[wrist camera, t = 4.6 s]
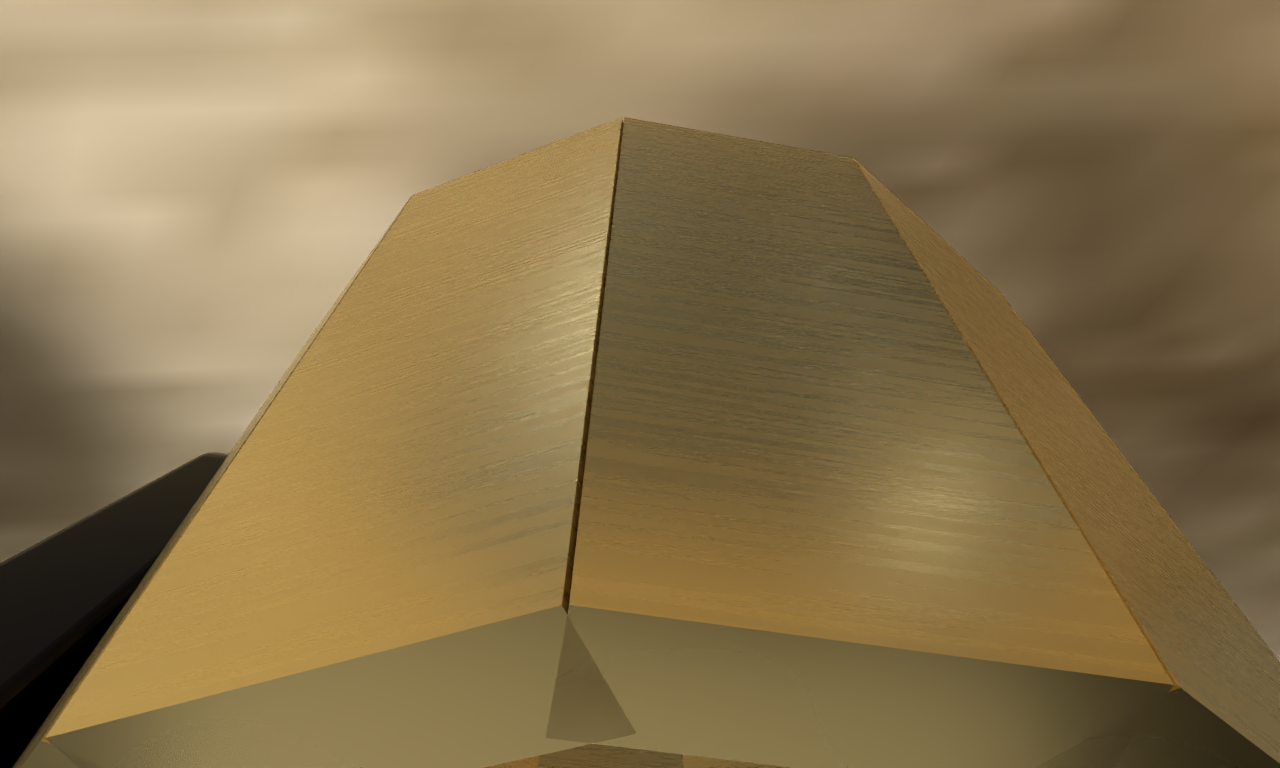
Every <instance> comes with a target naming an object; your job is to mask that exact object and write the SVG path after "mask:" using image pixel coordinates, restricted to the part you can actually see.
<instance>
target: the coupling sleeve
mask: <svg viewBox="0 0 1280 768" xmlns="http://www.w3.org/2000/svg"><path fill="white" fill-rule="evenodd" d="M12 768H1280V662H1279V661H1278V659H1277V658H1276V657H1275V655H1274V654H1273V653H1272V651H1271V650H1270V649H1269V647H1268V646H1267V645H1266V643H1265V642H1264V641H1263V639H1262V638H1261V637H1260V636H1259V634H1258V633H1257V632H1256V630H1255V629H1254V628H1253V626H1252V625H1251V624H1250V622H1249V621H1248V620H1247V618H1246V617H1245V616H1244V614H1243V613H1242V612H1241V610H1240V609H1239V608H1238V606H1237V605H1236V604H1235V602H1234V601H1233V600H1232V598H1231V597H1230V596H1229V594H1228V593H1227V592H1226V590H1225V589H1224V588H1223V586H1222V585H1221V584H1220V582H1219V581H1218V580H1217V579H1216V577H1215V576H1214V575H1213V573H1212V572H1211V571H1210V569H1209V568H1208V567H1207V565H1206V564H1205V563H1204V561H1203V560H1202V559H1201V557H1200V556H1199V555H1198V553H1197V552H1196V551H1195V549H1194V548H1193V547H1192V545H1191V544H1190V543H1189V541H1188V540H1187V539H1186V537H1185V536H1184V535H1183V533H1182V532H1181V531H1180V529H1179V528H1178V527H1177V525H1176V524H1175V523H1174V522H1173V520H1172V519H1171V518H1170V516H1169V515H1168V514H1167V512H1166V511H1165V510H1164V508H1163V507H1162V506H1161V504H1160V503H1159V502H1158V500H1157V499H1156V498H1155V496H1154V495H1153V494H1152V492H1151V491H1150V490H1149V488H1148V487H1147V486H1146V484H1145V483H1144V482H1143V480H1142V479H1141V478H1140V476H1139V475H1138V474H1137V472H1136V471H1135V470H1134V469H1133V467H1132V466H1131V465H1130V463H1129V462H1128V461H1127V459H1126V458H1125V457H1124V455H1123V454H1122V453H1121V451H1120V450H1119V449H1118V447H1117V446H1116V445H1115V443H1114V442H1113V441H1112V439H1111V438H1110V437H1109V435H1108V434H1107V433H1106V431H1105V430H1104V429H1103V427H1102V426H1101V425H1100V423H1099V422H1098V421H1097V419H1096V418H1095V417H1094V415H1093V414H1092V413H1091V412H1090V410H1089V409H1088V408H1087V406H1086V405H1085V404H1084V402H1083V401H1082V400H1081V398H1080V397H1079V396H1078V394H1077V393H1076V392H1075V390H1074V389H1073V388H1072V386H1071V385H1070V384H1069V382H1068V381H1067V380H1066V378H1065V377H1064V376H1063V374H1062V373H1061V372H1060V370H1059V369H1058V368H1057V366H1056V365H1055V364H1054V362H1053V361H1052V360H1051V359H1050V357H1049V356H1048V355H1047V353H1046V352H1045V351H1044V349H1043V348H1042V347H1041V345H1040V344H1039V343H1038V341H1037V340H1036V339H1035V337H1034V336H1033V335H1032V333H1031V332H1030V331H1029V329H1028V328H1027V327H1026V325H1025V324H1024V323H1023V321H1022V320H1021V319H1020V317H1019V316H1018V315H1017V313H1016V312H1015V311H1014V309H1013V308H1012V307H1011V305H1010V304H1009V303H1008V302H1007V300H1006V299H1005V298H1004V296H1003V295H1002V294H1001V292H1000V291H998V290H997V289H996V288H995V287H994V286H993V285H992V284H991V283H990V282H989V281H988V280H986V279H985V278H984V277H983V276H982V275H981V274H980V273H979V272H978V271H977V270H976V269H975V268H973V267H972V266H971V265H970V264H969V263H968V262H967V261H966V260H965V259H964V258H963V257H961V256H960V255H959V254H958V253H957V252H956V251H955V250H954V249H953V248H952V247H951V246H949V245H948V244H947V243H946V242H945V241H944V240H943V239H942V238H941V237H940V236H939V235H937V234H936V233H935V232H934V231H933V230H932V229H931V228H930V227H929V226H928V225H927V224H925V223H924V222H923V221H922V220H921V219H920V218H919V217H918V216H917V215H916V214H915V213H913V212H912V211H911V210H910V209H909V208H908V207H907V206H906V205H905V204H904V203H903V202H901V201H900V200H899V199H898V198H897V197H896V196H895V195H894V194H893V193H892V192H891V191H889V190H888V189H887V188H886V187H885V186H884V185H883V184H882V183H881V182H880V181H879V180H877V179H876V178H875V177H874V176H873V175H872V174H871V173H870V172H869V171H868V170H867V169H866V168H864V167H863V166H862V165H861V164H860V163H859V162H858V161H857V160H856V159H853V158H852V157H847V156H841V155H836V154H830V153H824V152H819V151H813V150H807V149H802V148H796V147H790V146H784V145H779V144H773V143H767V142H762V141H756V140H750V139H745V138H739V137H733V136H728V135H722V134H716V133H711V132H705V131H699V130H694V129H688V128H682V127H677V126H671V125H665V124H659V123H654V122H648V121H642V120H637V119H631V118H624V122H623V119H622V118H619V119H617V120H614V121H611V122H609V123H606V124H603V125H600V126H598V127H595V128H592V129H590V130H587V131H584V132H582V133H579V134H576V135H574V136H571V137H568V138H565V139H563V140H560V141H557V142H555V143H552V144H549V145H547V146H544V147H541V148H539V149H536V150H533V151H530V152H528V153H525V154H522V155H520V156H517V157H514V158H512V159H509V160H506V161H504V162H501V163H498V164H495V165H493V166H490V167H487V168H485V169H482V170H479V171H477V172H474V173H471V174H469V175H466V176H463V177H460V178H458V179H455V180H452V181H450V182H447V183H444V184H442V185H439V186H436V187H434V188H431V189H428V190H425V191H423V192H420V193H417V194H415V195H413V196H412V197H411V198H410V199H409V200H408V202H407V203H406V204H405V206H404V207H403V209H402V210H401V211H400V213H399V214H398V216H397V217H396V218H395V220H394V221H393V223H392V224H391V225H390V227H389V228H388V230H387V231H386V232H385V234H384V235H383V237H382V238H381V239H380V241H379V242H378V243H377V245H376V246H375V248H374V249H373V250H372V252H371V253H370V255H369V256H368V257H367V259H366V260H365V262H364V263H363V264H362V266H361V267H360V269H359V270H358V271H357V273H356V274H355V276H354V277H353V278H352V280H351V281H350V282H349V284H348V285H347V287H346V288H345V289H344V291H343V292H342V294H341V295H340V296H339V298H338V299H337V301H336V302H335V303H334V305H333V306H332V308H331V309H330V310H329V312H328V313H327V315H326V316H325V317H324V319H323V320H322V321H321V323H320V324H319V326H318V327H317V328H316V330H315V331H314V333H313V334H312V335H311V337H310V338H309V340H308V341H307V342H306V344H305V345H304V347H303V348H302V349H301V351H300V352H299V354H298V355H297V357H296V358H295V360H294V361H293V363H292V364H291V365H290V367H289V368H288V370H287V371H286V373H285V374H284V376H283V377H282V378H281V380H280V381H279V383H278V384H277V386H276V387H275V389H274V390H273V391H272V393H271V394H270V396H269V397H268V399H267V400H266V402H265V403H264V404H263V406H262V407H261V409H260V410H259V412H258V413H257V415H256V416H255V417H254V419H253V420H252V422H251V423H250V425H249V426H248V428H247V429H246V430H245V432H244V433H243V435H242V436H241V438H240V439H239V441H238V442H237V443H236V445H235V446H234V448H233V449H232V451H231V452H230V454H229V455H228V456H227V458H226V459H225V461H224V462H223V464H222V465H221V467H220V468H219V470H218V471H217V472H216V474H215V475H214V477H213V478H212V480H211V481H210V483H209V484H208V485H207V487H206V488H205V490H204V491H203V493H202V494H201V496H200V497H199V498H198V500H197V501H196V503H195V504H194V506H193V507H192V509H191V510H190V511H189V513H188V514H187V516H186V517H185V519H184V520H183V522H182V523H181V524H180V526H179V527H178V529H177V530H176V532H175V533H174V535H173V536H172V537H171V539H170V540H169V542H168V543H167V545H166V546H165V548H164V549H163V550H162V552H161V553H160V555H159V556H158V558H157V559H156V561H155V562H154V563H153V565H152V566H151V568H150V569H149V571H148V572H147V574H146V575H145V576H144V578H143V579H142V581H141V582H140V584H139V585H138V587H137V588H136V590H135V591H134V592H133V594H132V595H131V597H130V598H129V600H128V601H127V603H126V604H125V605H124V607H123V608H122V610H121V611H120V613H119V614H118V616H117V617H116V618H115V620H114V621H113V623H112V624H111V626H110V627H109V629H108V630H107V631H106V633H105V634H104V636H103V637H102V639H101V640H100V642H99V643H98V644H97V646H96V647H95V649H94V650H93V652H92V653H91V655H90V656H89V657H88V659H87V660H86V662H85V663H84V665H83V666H82V668H81V669H80V670H79V672H78V673H77V675H76V676H75V678H74V679H73V681H72V682H71V683H70V685H69V686H68V688H67V689H66V691H65V692H64V694H63V695H62V697H61V698H60V699H59V701H58V702H57V704H56V705H55V707H54V708H53V710H52V711H51V712H50V714H49V715H48V717H47V718H46V720H45V721H44V723H43V724H42V725H41V727H40V728H39V730H38V731H37V733H36V734H35V736H34V737H33V738H32V740H31V741H30V743H29V744H28V746H27V747H26V749H25V750H24V751H23V753H22V754H21V756H20V757H19V759H18V760H17V762H16V763H15V764H14V766H13V767H12Z"/></svg>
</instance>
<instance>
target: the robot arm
mask: <svg viewBox="0 0 1280 768" xmlns="http://www.w3.org/2000/svg"><path fill="white" fill-rule="evenodd" d="M228 455H229V454H223V453H206V454H203V455H201V456H199V457H197V458H195V459H193V460H191V461H189V462H187V463H186V464H184V465H182V466H180V467H178V468H176V469H174V470H173V471H171V472H169V473H167V474H165V475H163V476H161V477H160V478H158V479H156V480H154V481H152V482H150V483H148V484H147V485H145V486H143V487H141V488H139V489H137V490H135V491H134V492H132V493H130V494H128V495H126V496H124V497H122V498H121V499H119V500H117V501H115V502H113V503H111V504H109V505H108V506H106V507H104V508H102V509H100V510H98V511H96V512H95V513H93V514H91V515H89V516H87V517H85V518H83V519H82V520H80V521H78V522H76V523H74V524H72V525H70V526H69V527H67V528H65V529H63V530H61V531H59V532H58V533H56V534H54V535H52V536H50V537H48V538H46V539H45V540H43V541H41V542H39V543H37V544H35V545H33V546H32V547H30V548H28V549H26V550H24V551H22V552H20V553H19V554H17V555H15V556H13V557H11V558H9V559H7V560H6V561H4V562H2V563H0V768H12V767H13V766H14V764H15V763H16V762H17V760H18V759H19V757H20V756H21V754H22V753H23V751H24V750H25V749H26V747H27V746H28V744H29V743H30V741H31V740H32V738H33V737H34V736H35V734H36V733H37V731H38V730H39V728H40V727H41V725H42V724H43V723H44V721H45V720H46V718H47V717H48V715H49V714H50V712H51V711H52V710H53V708H54V707H55V705H56V704H57V702H58V701H59V699H60V698H61V697H62V695H63V694H64V692H65V691H66V689H67V688H68V686H69V685H70V683H71V682H72V681H73V679H74V678H75V676H76V675H77V673H78V672H79V670H80V669H81V668H82V666H83V665H84V663H85V662H86V660H87V659H88V657H89V656H90V655H91V653H92V652H93V650H94V649H95V647H96V646H97V644H98V643H99V642H100V640H101V639H102V637H103V636H104V634H105V633H106V631H107V630H108V629H109V627H110V626H111V624H112V623H113V621H114V620H115V618H116V617H117V616H118V614H119V613H120V611H121V610H122V608H123V607H124V605H125V604H126V603H127V601H128V600H129V598H130V597H131V595H132V594H133V592H134V591H135V590H136V588H137V587H138V585H139V584H140V582H141V581H142V579H143V578H144V576H145V575H146V574H147V572H148V571H149V569H150V568H151V566H152V565H153V563H154V562H155V561H156V559H157V558H158V556H159V555H160V553H161V552H162V550H163V549H164V548H165V546H166V545H167V543H168V542H169V540H170V539H171V537H172V536H173V535H174V533H175V532H176V530H177V529H178V527H179V526H180V524H181V523H182V522H183V520H184V519H185V517H186V516H187V514H188V513H189V511H190V510H191V509H192V507H193V506H194V504H195V503H196V501H197V500H198V498H199V497H200V496H201V494H202V493H203V491H204V490H205V488H206V487H207V485H208V484H209V483H210V481H211V480H212V478H213V477H214V475H215V474H216V472H217V471H218V470H219V468H220V467H221V465H222V464H223V462H224V461H225V459H226V458H227V456H228Z"/></svg>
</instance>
